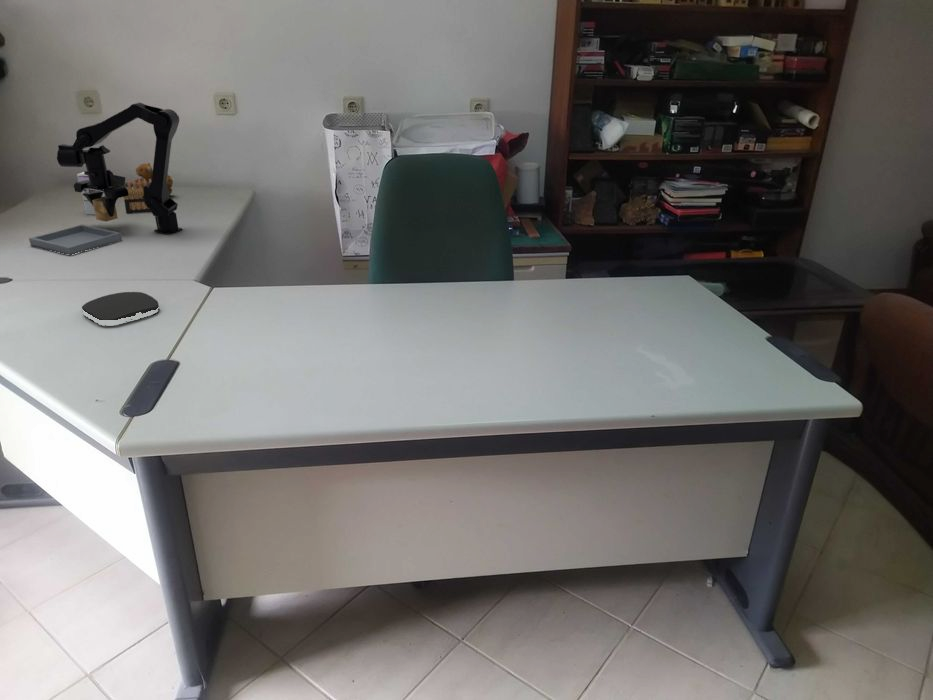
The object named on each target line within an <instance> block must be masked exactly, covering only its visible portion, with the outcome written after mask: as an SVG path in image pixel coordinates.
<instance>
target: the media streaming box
mask: <svg viewBox="0 0 933 700" xmlns="http://www.w3.org/2000/svg"><path fill="white" fill-rule="evenodd" d="M158 307H159V308H160V306H159V302H158V300H157V299H156V298H154V297H153V296H151V295H149V294H147V293H146V292H145V293H144V292H140V291H124V292H122V291H121V292H117V293H111V294H107V295H104V296H101V297H98V298H95V299H92V300H90V301H88V302H86V303H84V304H83V305H82V307H81V310H82V309H83V310H84V311H85V312H87V313H88V314H90V315H92V316H93V317H95V318H97V319H99V320H118V319H121V318H126V317H131V316H135V315H136V313H139V312H141V313H142V314H143V313H146V312H148V311H151V310H156V309H157V308H158ZM83 310H82V311H83Z"/></svg>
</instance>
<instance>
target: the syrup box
mask: <svg viewBox="0 0 933 700" xmlns="http://www.w3.org/2000/svg"><path fill="white" fill-rule="evenodd" d="M76 176H77V182H81V181H86V180H89V178H88V175H85V174H84V171H83V172H80V173H77V174H76ZM103 190H104V189H103ZM83 193H84V190H83V191H82V192H80V194H81V197H82V201H83V205H84V208H85V213H86V215H95V216H96V214H95V210H94V206H93V205H92V204H91V203H90V202H89V200H88V199H87V198H86V197H85V196H84V195H83ZM102 197H105V194H104V193H103V195H102Z"/></svg>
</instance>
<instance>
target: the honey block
mask: <svg viewBox="0 0 933 700" xmlns="http://www.w3.org/2000/svg"><path fill="white" fill-rule="evenodd" d="M92 201H93V205H94V210H95V214H96V215H95V217H96V220H98V221H101V222H110V221H114V220H117V219H119V216H118V212H117V208H116V206H115V209H114V215H113V216H112V217H110V216H109V214H108V212H107V210H106V208H105V206H104V204H103V202H102V200H101V198H99V199H95V200H92Z"/></svg>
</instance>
